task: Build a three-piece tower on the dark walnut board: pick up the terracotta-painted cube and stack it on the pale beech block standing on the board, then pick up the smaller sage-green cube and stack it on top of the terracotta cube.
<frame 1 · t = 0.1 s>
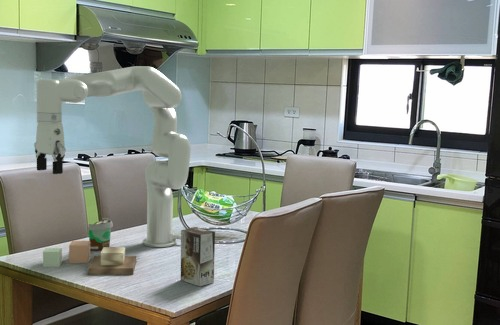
hand: (49, 171, 194), 31 cm above the table, tool pointing down, fingers open, 9 cm apart
sage cube: (52, 264, 200), on the table
food container: (103, 248, 221), on the table
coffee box: (197, 281, 188), on the table
beech block: (113, 261, 198), point 2 cm above the table, touching tower board
tower board: (113, 267, 198), on the table
terracotta cube: (79, 260, 206), on the table
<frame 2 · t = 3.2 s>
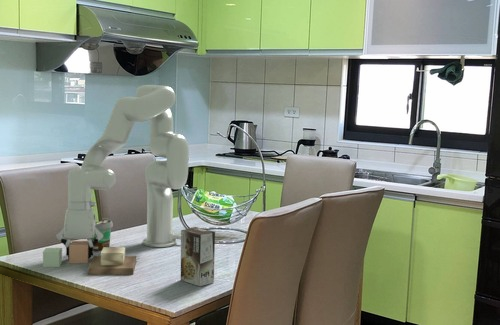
hand: (79, 257, 205), 1 cm above the table, tool pointing down, fingers closed on terracotta cube, 6 cm apart
terracotta cube: (79, 260, 206), on the table, touching gripper
everything else where it was.
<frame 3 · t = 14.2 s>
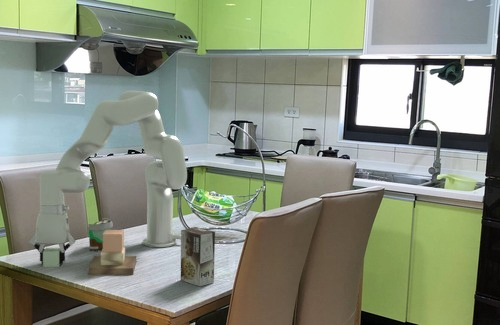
hand: (52, 262, 200), 0 cm above the table, tool pointing down, fingers closed on sage cube, 4 cm apart
sage cube: (52, 264, 200), on the table, touching gripper
beech block: (113, 261, 198), point 2 cm above the table, touching terracotta cube, tower board
terracotta cube: (113, 249, 197), point 6 cm above the table, touching beech block
everything else where it was.
when the fingers open (14 cm above the table, at t = 19.6 s): sage cube drops 1 cm, resting on terracotta cube.
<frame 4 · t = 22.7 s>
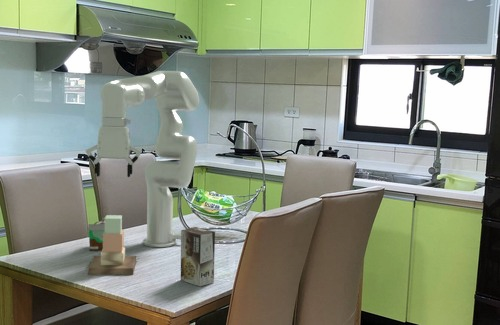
hand: (113, 176, 194), 30 cm above the table, tool pointing down, fingers open, 9 cm apart
sage cube: (113, 232, 197), point 12 cm above the table, touching terracotta cube
terracotta cube: (113, 249, 197), point 6 cm above the table, touching beech block, sage cube
everything else where it was.
at the end: terracotta cube 0.1 cm from the beech block (horizontally); sage cube 0.0 cm from the beech block (horizontally); sage cube point 12.0 cm above the table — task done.
